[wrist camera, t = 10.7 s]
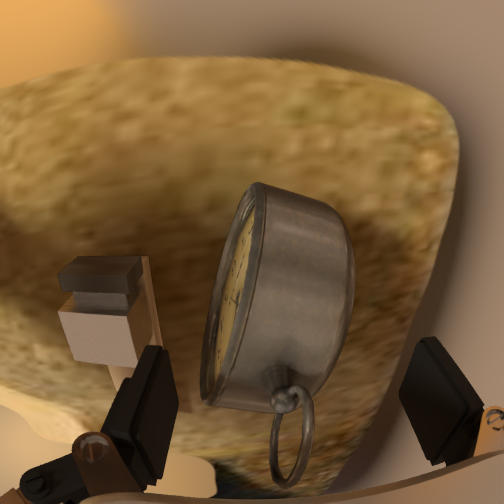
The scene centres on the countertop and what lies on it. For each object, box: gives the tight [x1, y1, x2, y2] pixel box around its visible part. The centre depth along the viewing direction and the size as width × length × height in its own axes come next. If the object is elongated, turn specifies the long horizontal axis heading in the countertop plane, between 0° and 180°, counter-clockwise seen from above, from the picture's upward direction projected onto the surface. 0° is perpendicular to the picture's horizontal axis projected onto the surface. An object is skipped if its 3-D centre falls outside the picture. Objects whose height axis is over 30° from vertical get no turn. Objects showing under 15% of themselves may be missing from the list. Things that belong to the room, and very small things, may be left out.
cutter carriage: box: [58, 286, 153, 368], centre depth 19 cm, size 5×5×4 cm
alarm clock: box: [200, 182, 356, 489], centre depth 14 cm, size 11×5×16 cm, turn 163°
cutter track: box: [58, 256, 164, 392], centre depth 22 cm, size 5×17×4 cm, turn 0°
